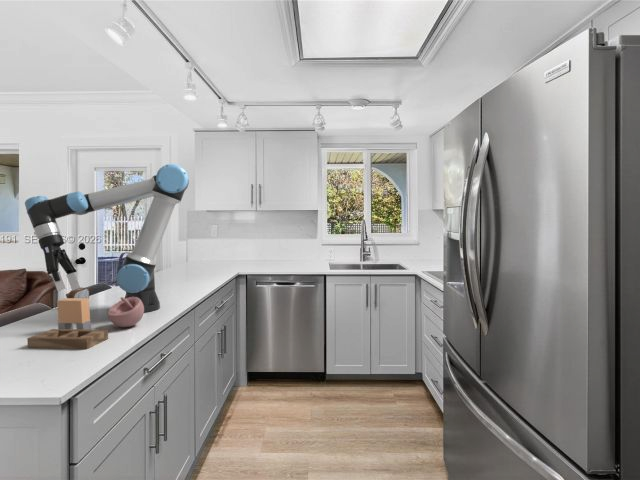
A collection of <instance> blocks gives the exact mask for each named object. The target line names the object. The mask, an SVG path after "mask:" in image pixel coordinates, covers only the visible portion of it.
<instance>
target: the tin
mask: <svg viewBox="0 0 640 480" xmlns="http://www.w3.org/2000/svg"><path fill="white" fill-rule="evenodd" d="M66 298H89V299H90V290H89V288H87V287H80V288H78V289H76V290H72V289H71V290H70V291H69V292H68V294H67V297H66Z"/></svg>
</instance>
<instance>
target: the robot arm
mask: <svg viewBox="0 0 640 480" xmlns="http://www.w3.org/2000/svg"><path fill="white" fill-rule="evenodd" d="M189 183H190V182H189V175H188V173H187V171H186V170H185V169H184V168H183V167H182V166H180V165H178V164H175V163H174V164H173V163H167V164H165V165H163V166H161V167H160V168H159V169H158V171H156V175H153V176H152V177H150V178H149V179H144V180H141V181H137V182H132V183H128V184H123V185H120V186H114V187H111V188H107V189H102V190H99V191H95V192H89V193H85V194H83V193H82V192H81V191H74V192H69V193H67V194H64V195H61V196H58V197H54V198H50V199H48V197H47V196H45V195H38V196H32V197H29V198H28V199H26V200H25V201H24V205H25V209H26V210H25V211H26V214H27V215H28V218H29V220H30V223H31V225H32V228H33V230H34V232H33V234H34V235H35V236H36V238H37V239H38V241H37V242H38V244H39V247H40V249H41V250H42V251H43V253H44V254H43V255H44V260H45V261H44V262H45V267H46V272H47V273H46V274H47V275H51V277H52V280H53V283H54V285H55V288H56V290H57V292H61V291H63V290H66V289H67V286H66V284H65V283H66V282H65V280H64V277H63V275H62V273H61V271H59V268H60V267H59V266H61V267H62V269H63V270H64V272H65V273H66V275H65V276H66V278H67V280H68V284H69V285H70V289H71V290H76V289H78V288H81V287H80V284H79V281H78V279H77V275H76V273H77V269H75V267H74V265H73V263H72V261H71V259H70V257H69V255H68V254H67V252H66V250H65V249H64V248H63V249H62V248H61V246H63V245H64V244H65V240H64V238H63V236H62V234H61V230H60V227H59V225H58V223H57V221H56V220H57V219H61V218H63V217H67V216H70V215H76V216H82V215H87V214H88V213H92V212H96V211H99V210H103V209H105V210H106V209H108V208H112V207H117V206H121V205H125V204H129V203H133V202H137V201H140V200H145V199H149V198H152V197H153V198H152V201H151V204H150V206H149V208H148V211H147V213H146V217H145V218H144V221H143V223H142V227H141V229H140V231H139V234H138V236H137V239H136V242H135V243H134V246H133V249H132V252H130V253H127V254H126V255H125V258H124V261H123V263H122V266H121V267H120V269H119V270H117V274H116V283H117V285H118V287H119V288H120V289H121V290H123V291H124V292H125V296H124V298H125V299H126V298H129V297H138V298H139V299H140V300H141V301H142V303H143V305H144V313H150V312H154V311H157V310H159V309H160V308H161V302H160V300H159V297H158V295H157V293H156V287H155V286H156V282H155V281H156V280H155V279H156V278H155V268H156V266H157V262H156V260H155V258H156V255H157V253H158V250H159V248H160V245H161V242H162V239H163V238H164V237H163V236H164V234H165V232H166V230H167V226H168V224H169V221H170V219H171V217H172V215H173V211H174V209H175V206H176V204H179V203H181V201H182V199H183V196H184V194H185V191H187V189H188V187H189Z"/></svg>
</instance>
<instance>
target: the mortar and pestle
mask: <svg viewBox="0 0 640 480" xmlns="http://www.w3.org/2000/svg"><path fill="white" fill-rule="evenodd" d="M144 315H145V312H144V305H143V303H142V301H141V300H140V299H139V298H138V297H129V298H126V299H125V297H123V296H122V297H120V300H119V301H118V302H116V303H114V304H113V305H112V306H111V307H110V308H109V310H108V311H107V317H108V319H109V321H110V322H111V323H112V324H113V325H114V326H116V327H119V328H131V327H134V326H135V325H137V324H138V323H139V322H140V321H141V320H142V319H143V317H144Z"/></svg>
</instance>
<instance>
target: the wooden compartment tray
mask: <svg viewBox="0 0 640 480" xmlns="http://www.w3.org/2000/svg"><path fill="white" fill-rule="evenodd" d="M108 339H109V330H108V329H91V330H81V329H77V328H76V329H74V328H73V329H58V328H51V329H49V330H46V331H43V332H41V333H38V334H35V335H32V336H30V337H27V339H26V340H27V348H28V349H31V348H32V349H69V350H70V349H71V350H76V349H77V350H88V349H90V348H93V347H94V346H96V345H98V344H100V343H102V342H105V341H107V340H108Z"/></svg>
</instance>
